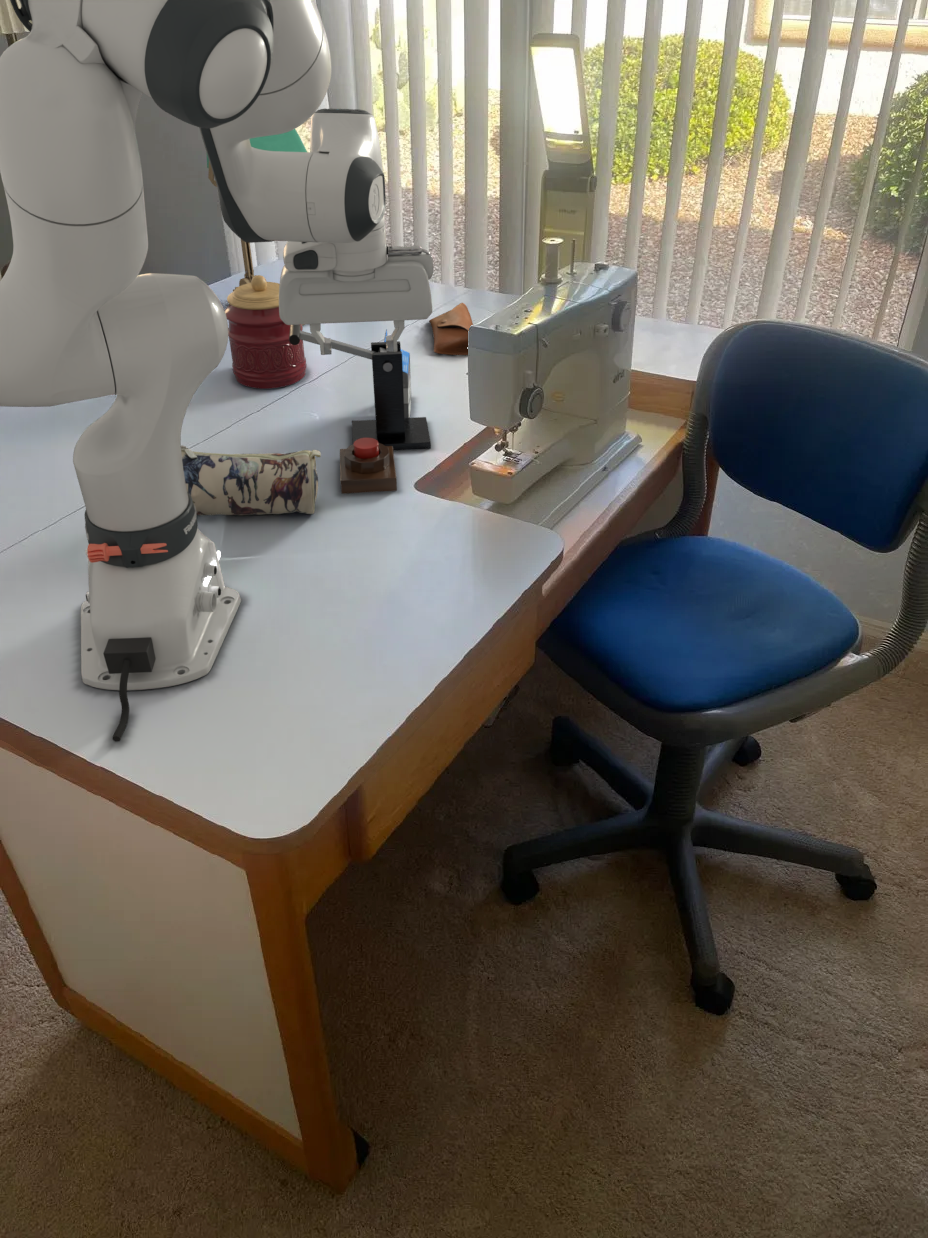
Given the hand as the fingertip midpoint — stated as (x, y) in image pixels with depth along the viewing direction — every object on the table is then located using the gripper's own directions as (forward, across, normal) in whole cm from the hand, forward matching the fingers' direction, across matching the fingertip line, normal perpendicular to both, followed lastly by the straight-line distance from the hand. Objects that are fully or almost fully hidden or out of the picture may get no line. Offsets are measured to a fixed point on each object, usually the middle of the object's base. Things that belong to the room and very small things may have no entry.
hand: (359, 351), depth 132 cm
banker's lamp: (+19, +17, -70) cm, 75 cm away
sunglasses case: (+19, -18, -53) cm, 59 cm away
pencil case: (+19, +17, +8) cm, 27 cm away
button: (+16, 0, 0) cm, 16 cm away
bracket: (+19, -4, -12) cm, 23 cm away
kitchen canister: (+19, +16, -39) cm, 46 cm away
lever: (+5, +3, -12) cm, 13 cm away
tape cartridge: (+19, -6, -22) cm, 30 cm away
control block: (+19, 0, 0) cm, 19 cm away
